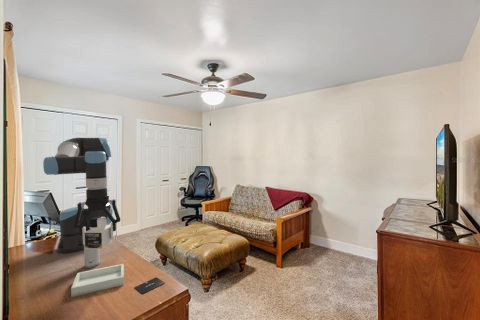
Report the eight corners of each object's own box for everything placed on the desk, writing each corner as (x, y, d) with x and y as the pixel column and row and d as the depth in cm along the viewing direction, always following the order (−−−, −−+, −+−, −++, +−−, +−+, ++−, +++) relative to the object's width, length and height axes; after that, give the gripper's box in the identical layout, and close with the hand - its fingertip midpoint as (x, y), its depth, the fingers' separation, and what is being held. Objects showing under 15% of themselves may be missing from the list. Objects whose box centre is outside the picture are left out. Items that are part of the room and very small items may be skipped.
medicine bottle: (84, 249, 96) (83, 220, 95) (96, 242, 103) (95, 215, 102) (101, 249, 95) (100, 220, 95) (112, 242, 102) (111, 215, 102)
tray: (77, 280, 102) (77, 272, 101) (124, 270, 109) (123, 263, 109) (71, 297, 90) (71, 288, 90) (123, 285, 98) (123, 276, 98)
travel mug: (93, 269, 112) (91, 227, 111) (81, 267, 113) (79, 226, 112) (103, 262, 118) (101, 223, 117) (92, 261, 119) (90, 223, 118)
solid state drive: (134, 288, 95) (134, 287, 95) (156, 278, 103) (156, 277, 103) (142, 295, 91) (142, 293, 91) (165, 284, 99) (165, 282, 99)
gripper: (62, 191, 90) (64, 249, 91) (126, 187, 100) (127, 239, 100) (66, 189, 97) (68, 242, 98) (126, 185, 106) (127, 233, 107)
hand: (98, 240), depth 99 cm, fingers closed on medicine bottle, 9 cm apart
